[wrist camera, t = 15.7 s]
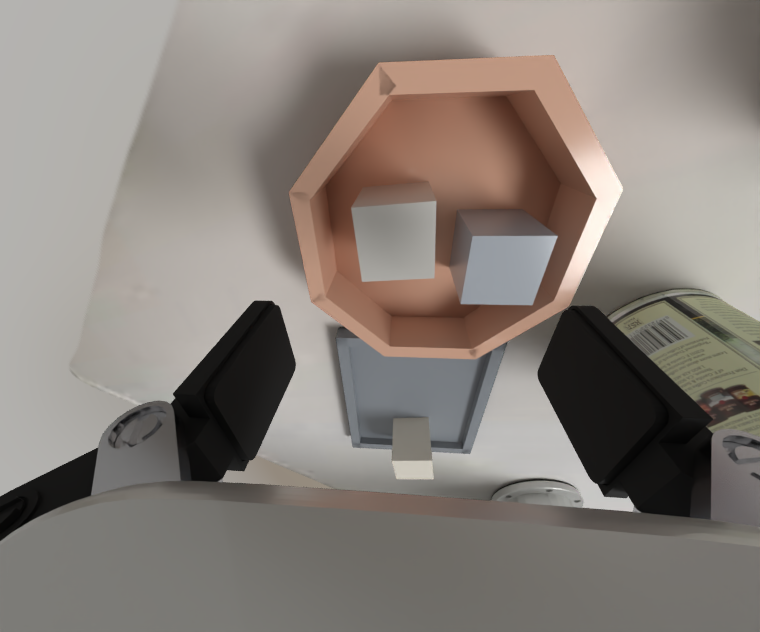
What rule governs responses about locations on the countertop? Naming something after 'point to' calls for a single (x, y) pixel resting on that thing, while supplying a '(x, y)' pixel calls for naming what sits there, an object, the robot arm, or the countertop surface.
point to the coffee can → (701, 351)
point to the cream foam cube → (412, 448)
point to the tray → (414, 394)
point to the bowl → (454, 194)
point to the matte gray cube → (499, 256)
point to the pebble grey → (395, 231)
